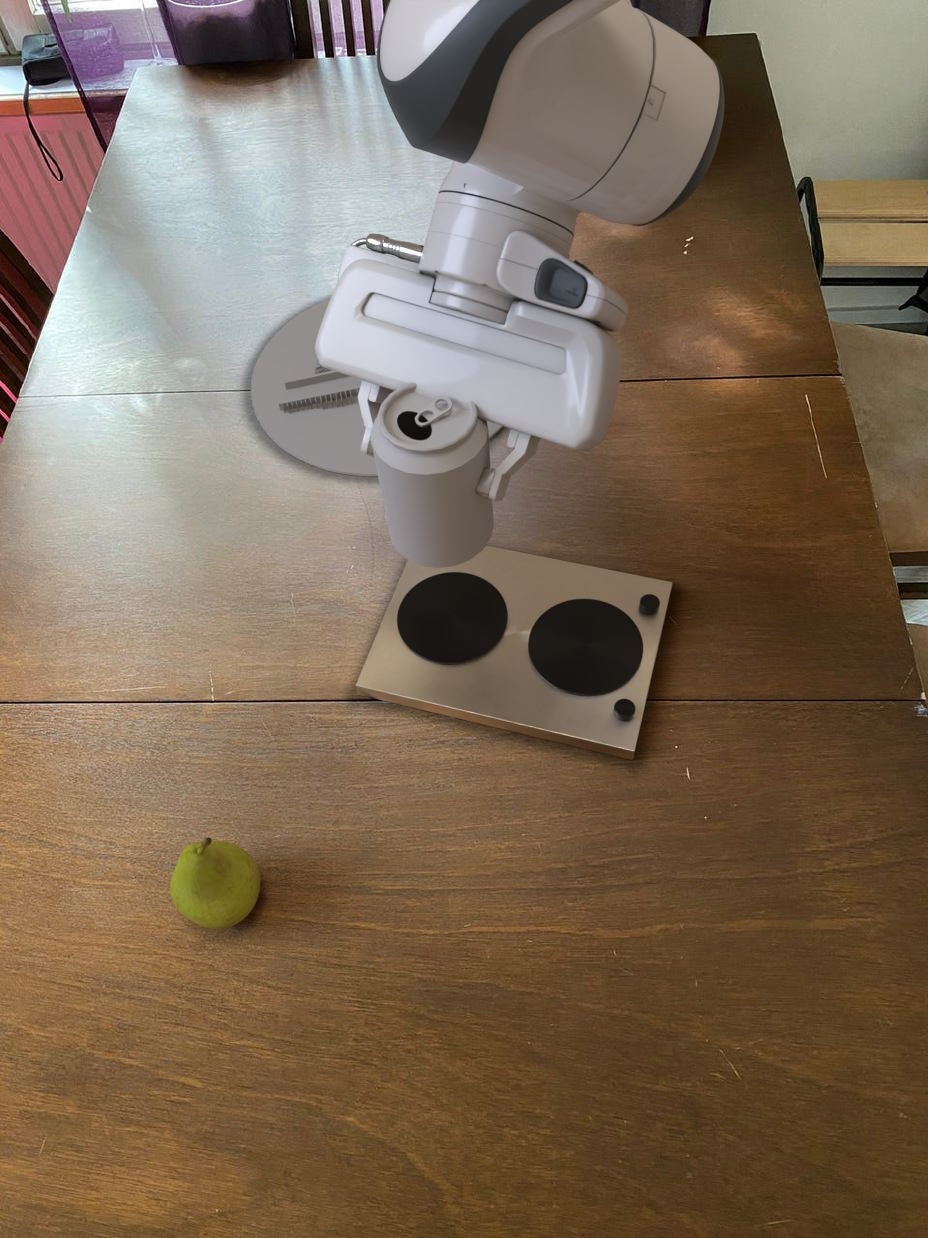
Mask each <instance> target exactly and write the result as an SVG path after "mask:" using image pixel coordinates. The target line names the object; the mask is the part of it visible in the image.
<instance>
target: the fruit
mask: <svg viewBox="0 0 928 1238" xmlns="http://www.w3.org/2000/svg"><path fill="white" fill-rule="evenodd" d="M169 883H170V884H169V895H170V898H171V900H172V904H173V905H174V907H175V908H176V910H177V911H178V912H179V913H180V914H181V915H182V916H183V917H184V918H186V919H187V920H189V921H191V922H192V923H194V924H196V925H198V926H200V927H203V928H206V929H210V930H211V929H212V930H223V929H228V928H231V927H233V926H235V925H237V924H239V923H240V922H241V921H244V919H246V917H247V916H248V915H249V914H250V913H251V911H253V909H254V907H255V906H256V903H257V901H258V898H259V894H260V890H261V872H260V869H259V867H258V864H257V862H256V861H255V859H254V858H253V857H252V855H251V854H250V852H248V851H246V850H245V849H244V848H242V847H241V846H239V845H238V844H236V843H235V844H234V843H231V842H229V841H224V840H219V839H218V840H217V839H215V840H213V839H212V838H211V837H206V838H205V839H203V840H202V841H196V842H191V843H189V844H187V845H186V846H185V847H184V848H183V849H182V851H181V853H180V855H179V858H178V860H177V864H176V865H175V867H174V870H173V872H172V874H171V878H170V882H169Z"/></svg>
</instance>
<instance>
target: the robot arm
mask: <svg viewBox="0 0 928 1238" xmlns="http://www.w3.org/2000/svg"><path fill="white" fill-rule="evenodd" d="M387 2H388V3H387V5H386V8H385V11H384V14H383V17H382V21H381V24H380V29H379V33H378V37H377V38H378V39H377V45H376V68H377V73H378V76H379V80H380V82H381V87H382V88H383V92H384V95H385V97H386V100H387V102H388V104H389V107H390V109H391V112H392V113H393V115H394V117H395V119H396V121H397V124H398V125H399V127H400V129H401V131H402V133H403V134H404V137H405V138H406V139H407V141H408V143H409V144H410V146H411V147H413V148H414V149H417V150H420V151H423V152H426V153H429V154H433V155H436V156H438V157H442V158H445V159H447V160H451V161H453V162H452V164H451V166H450V168H449V170H448V172H447V173H446V174H445V177H444V178H443V180H442V182H441V184H440V187H439V189H438V193H437V195H436V200H435V204H434V206H433V211H432V214H431V219H430V220H429V221H430V222H429V224H428V225H429V226H428V229H427V233H426V237H425V240H424V244H418V243H414V242H410V241H405V240H397V239H393V238H390V237H389V236H387V235H384V234H381V233H375V232H374V233H369V234H368V235H367V236H366V237H361V238H358V239H356V240H354V241H353V242H352V243H351V244H349V245H348V246H347V247H346V248H345V250H344V252H343V254H342V258H341V261H340V266H339V270H338V274H337V283H336V285H335V287H334V289H333V292H332V295H331V297H330V298H331V299H330V298H329V299H330V301H329V304H328V306H327V309H326V312H325V314H324V317H323V320H322V323H321V326H320V329H319V332H318V335H317V339H316V343H315V351H316V355H317V358H318V361H319V363H320V365H321V366H322V367H324V368H327V369H330V370H333V371H336V372H339V373H342V374H345V375H348V376H351V377H355V378H358V379H361V380H362V382H361V386H360V390H359V394H358V401H359V405H360V410H361V414H362V418H363V422H364V426H365V427H366V429H365V433H364V437H363V441H362V444H361V453H363V454H365V455H368V456H371V457H374V453H373V448H372V440H371V430H372V427H373V424H374V421H375V419H376V417H377V416H378V412H379V409H380V407H381V404H382V403H383V402H384V400H385V399H386V398H387V397H388V396H389V394H391V393H392V392H393V390H394V391H395V390H397V389H398V388H400V387H402V386H404V385H407V384H410V383H416V384H417V386H416V388H415V389H414V391H413V392H414V393H417V394H420V395H423V396H426V397H430V398H433V399H437V398H439V397H447V398H449V399H450V400H451V402H452V404H453V405H454V406H457V407H460V408H463V409H466V410H470V406H469V403H468V402H469V401H472V402H474V403H475V404H476V408H477V413H478V415H477V417H478V418H480V419H483V420H486V421H489V422H492V423H495V424H499V425H502V426H503V427H505V428H508V429H510V430H509V434H508V437H507V440H506V443H505V445H506V447H507V448H510V449H513V450H512V451H510V453H509V454H508V455H507V456H506V457H505V458H504V459H503V460H502V461H501V462H500V463H498V465H497V466H496V467H495V468H493V467H491V468H483V470H482V473H481V476H480V482H479V483H478V485H477V487H476V494H479V495H482V496H484V497H487V498H490V499H492V501H497V502H498V501H502V500H504V498H505V496H506V494H507V491H508V487H509V484H510V481H511V479H512V478H511V477H512V475H515V474H516V473H517V472H518V471H519V470H520V469H521V468H522V467H523V466H525V464H527V463H528V462H529V461H530V460H531V459H532V458H533V457H534V456H535V455H536V454H537V450H538V447H539V444H540V441H541V439H542V440H545V441H548V442H551V443H553V444H557V445H560V446H563V447H566V448H569V449H572V450H576V451H581V452H589V451H591V450H593V449H594V448H596V447H597V446H599V445H600V444H601V443H603V441H604V440H605V438H606V436H607V434H608V430H609V427H610V424H611V421H612V417H613V414H614V409H615V405H616V401H617V397H618V392H619V388H620V381H621V377H622V369H623V367H622V366H623V357H622V351H621V347H620V344H619V342H618V341H617V339H616V338H615V337H614V336H613V335H612V334H611V333H617V332H619V331H620V330H621V329H622V328H623V327H624V325H625V322H626V320H627V316H628V314H629V305H628V303H627V301H626V300H625V298H624V297H623V296H622V295H621V294H620V293H619V292H618V291H616V289H614V288H613V287H612V286H611V285H609V284H608V283H606V282H605V281H603V280H602V279H600V278H599V277H598V276H596V275H594V272H593V271H592V270H591V269H590V268H589V267H587V266H586V265H585V264H584V263H581V262H580V261H579V260H577V259H574V260H572V259H570V257H571V255H570V250H571V248H572V245H573V242H574V238H575V232H576V224H577V219H578V217H579V215H580V213H582V212H583V213H585V214H588V215H591V216H592V217H595V218H597V219H600V220H603V221H604V222H605V221H606V222H609V223H612V224H620V225H632V226H635V227H642V226H643V227H644V226H648V225H649V224H652V223H655V222H656V221H659V220H661V219H663V218H665V217H666V216H669V215H670V214H671V213H673V212H674V211H676V210H677V209H679V208H680V207H681V206H682V205H683V204H684V203H685V202H686V201H687V200H688V199H689V198H690V197H691V196H692V195H693V194H694V192H695V191H696V190H697V188H698V187H699V186H700V184H701V183H702V181H703V179H704V177H705V176H706V174H707V172H708V170H709V169H710V165H711V164H712V161H713V158H714V156H715V155H716V151H717V148H718V145H719V142H720V138H721V134H722V130H723V124H724V117H725V90H724V84H723V78H722V74H721V71H720V68H719V65H718V63H717V62H716V61H715V59H714V58H712V57H711V56H710V55H708V53H706V52H705V51H704V50H703V49H702V48H701V47H700V46H699V45H697V44H696V43H695V42H693V41H692V40H691V39H690V38H687V37H686V36H684V35H683V34H681V33H680V32H678V31H676V30H675V29H673V28H672V27H670V26H669V25H667V24H665V23H663V22H662V21H660V20H659V19H656V18H655V17H653V16H651V15H649V14H648V13H646V12H645V11H643V10H641V9H639V8H637V7H634V6H633V3H632V1H631V0H388V1H387ZM363 245H365V248H364V247H361V246H363ZM442 402H445V401H442ZM445 403H447V402H445Z"/></svg>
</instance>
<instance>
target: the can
mask: <svg viewBox="0 0 928 1238" xmlns="http://www.w3.org/2000/svg"><path fill="white" fill-rule="evenodd" d="M416 386H417V384H416V383H410V384H407V385H404V386H402V387H400V388H398V389H397V390H395V391H394V392H392V393H391V394H389V396H388V397H387V398H386V399H385V400H384V402H383V403H382V404H381V407H380V409H379V412H378V416H377V417H376V419H375V421H374V424H373V427H372V430H371V440H372V448H373V453H374V458H375V463H376V468H377V473H378V477H377V479H378V483H379V488H380V493H381V498H382V504H383V510H384V514H385V519H386V524H387V530H388V535H389V539H390V542H391V544H392V545H393V547H394V549H395V551H396V552H397V553H398V554H400V555H401V556H402V558H404V559H405V560H407V561H411V562H413V563H416V564H418V565H420V566H425V567H433V568H443V567H451V566H456V565H459V564H461V563H464V562H466V561H469V560H471V559H472V558H473V557H475V556H476V555H477V554H479V553H480V552H481V551H483V549H484V548H485V546H486V545H487V546H488V543H489V542H490V540H491V539H492V534H493V531H494V527H495V525H494V524H495V523H494V507H493V506H494V505H493V499H490V498H487V497H484V496H482V495H479V494H476V487H477V485H478V483H479V482H480V476H481V473H482V470H483V468H492V467H491V452H490V451H491V450H490V439H489V430H488V425H487V421H486V420H483V419H480V418H478V417H477V415H478V413H477V408H476V404H475V403H474V402H472V401H469V402H468V403H469V406H470V410H466V409H463V408H460V407H457V406H454V405H453V404H452V402H451V400H450V399H449V398H447V397H439V398H437V399H433V398H430V397H426V396H423V395H420V394H417V393H414V392H413V391H414V389H415V388H416ZM442 401H445V402H447V403H445V402H442Z"/></svg>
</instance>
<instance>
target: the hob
mask: <svg viewBox="0 0 928 1238" xmlns="http://www.w3.org/2000/svg"><path fill="white" fill-rule="evenodd" d="M673 584H674V583H673V581H669V580H663V579H658V578H653V577H648V576H643V575H638V574H633V573H627V572H624V571H617V570H613V569H608V568H604V567H597V566H592V565H588V564H582V563H578V562H573V561H567V560H562V559H558V558H552V557H548V556H542V555H537V554H532V553H527V552H522V551H517V550H512V549H507V548H503V547H497V546H492V545H488V544H487V545H486V546H485V548H484V549H483V551H481V552H480V553H479V554H477V555H476V556H475V557H473V558H472V559H471V560H469V561H466V562H464V563H461V564H459V565H456V566H451V567H443V568H433V567H425V566H420V565H418V564H416V563H413V562H411V561H408V560H407V561H406V563H405V565H404V568H403V570H402V572H401V575H400V578H399V580H398V582H397V583H396V587H395V590H394V591H393V594H392V597H391V599H390V600H389V601H390V602H389V604H388V606H387V609H386V611H385V613H384V615H383V618H382V620H381V623H380V625H379V627H378V630H377V632H376V635H375V638H374V639H373V642H372V645H371V647H370V650H369V651H368V654H367V655H366V659H365V661H364V663H363V666H362V668H361V671H360V673H359V676H358V678H357V681H356V683H355V688H356V692H357V695H358V696H361V697H362V696H363V697H366V698H371V699H375V700H379V701H383V702H387V703H391V704H394V705H395V704H396V705H400V706H404V707H408V708H412V709H417V710H421V711H425V712H429V713H433V714H438V715H442V716H445V717H449V718H454V719H457V720H461V721H462V720H463V721H467V722H470V723H476V724H479V725H483V726H487V727H492V728H496V729H500V730H504V731H508V732H513V733H517V734H520V735H521V734H522V735H525V736H530V737H533V738H536V739H537V738H538V739H542V740H546V741H550V742H555V743H558V744H563V745H567V746H571V747H576V748H580V749H583V750H588V751H592V752H595V753H601V754H605V755H608V756H612V757H616V758H620V759H624V760H625V759H626V760H630V761H634V758H635V753H636V748H637V746H638V745H637V744H638V739H639V735H640V731H641V727H642V723H643V718H644V713H645V709H646V705H647V701H648V696H649V692H650V691H649V690H650V687H651V683H652V678H653V674H654V670H655V666H656V665H655V664H656V660H657V656H658V651H659V647H660V642H661V639H662V634H663V629H664V624H665V620H666V615H667V611H668V607H669V602H670V597H671V595H672V594H671V593H672V588H673Z"/></svg>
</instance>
